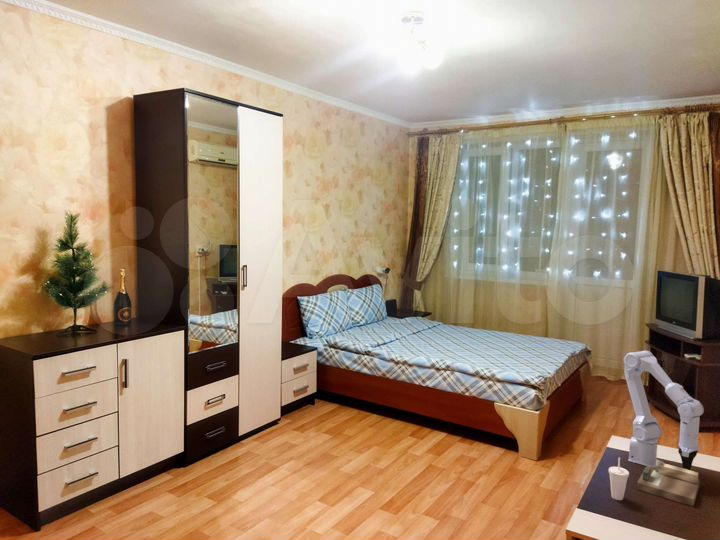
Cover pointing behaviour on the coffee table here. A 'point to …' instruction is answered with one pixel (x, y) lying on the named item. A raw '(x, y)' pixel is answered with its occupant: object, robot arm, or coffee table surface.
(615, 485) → the smoothie
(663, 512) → the coffee table surface
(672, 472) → the hinged leg
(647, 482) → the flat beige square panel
